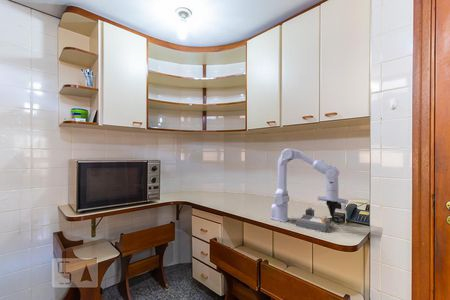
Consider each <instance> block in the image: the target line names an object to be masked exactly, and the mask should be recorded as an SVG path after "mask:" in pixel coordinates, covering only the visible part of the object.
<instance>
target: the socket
mask: <svg viewBox="0 0 450 300" xmlns="http://www.w3.org/2000/svg"><path fill="white" fill-rule="evenodd" d="M313 217H314V218H320V219H322V218H323V217H321V216H320V217H319V216H315V215H314V216H309V215H306V214H302V216H301V217H300V218H296V227H300V228H303V229H307V230H313V231H316V232H317V231H318V232H323V233H326V232H327V231H329V229H330V227H331V224H332V220H331V219H330V218H327V222H326V223H320V222H315V221H310V219H312V218H313Z"/></svg>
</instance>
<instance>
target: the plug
mask: <svg viewBox="0 0 450 300" xmlns="http://www.w3.org/2000/svg"><path fill="white" fill-rule="evenodd" d="M305 215H309V216H314V217H315V209H313V208H312V207H308V208H307V209H305Z"/></svg>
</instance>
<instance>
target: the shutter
mask: <svg viewBox="0 0 450 300" xmlns="http://www.w3.org/2000/svg"><path fill="white" fill-rule="evenodd" d="M314 217H315V216H314ZM314 217H313V218H312V219H310V221H315V222H320V223H326V222H327V219H328V217H327V216H326V215H325V216H323V217H320V218H322V219H320V218H314Z"/></svg>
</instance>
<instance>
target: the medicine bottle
mask: <svg viewBox="0 0 450 300" xmlns="http://www.w3.org/2000/svg"><path fill="white" fill-rule="evenodd" d="M347 212H348V211H347V210H346V204H344V203H338V205H337V207H336V209H335V213H334V216H331V224H334V225H335V224H336V225H342V226H346V224H347V221H346V218H347V215H348V214H347Z"/></svg>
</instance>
